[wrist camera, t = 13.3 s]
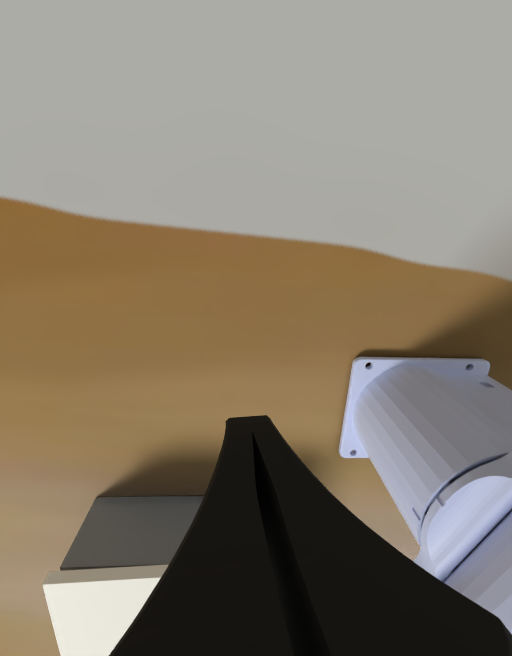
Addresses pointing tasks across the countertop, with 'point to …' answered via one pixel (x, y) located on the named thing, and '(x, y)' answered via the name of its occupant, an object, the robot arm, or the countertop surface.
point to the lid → (97, 605)
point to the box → (131, 532)
